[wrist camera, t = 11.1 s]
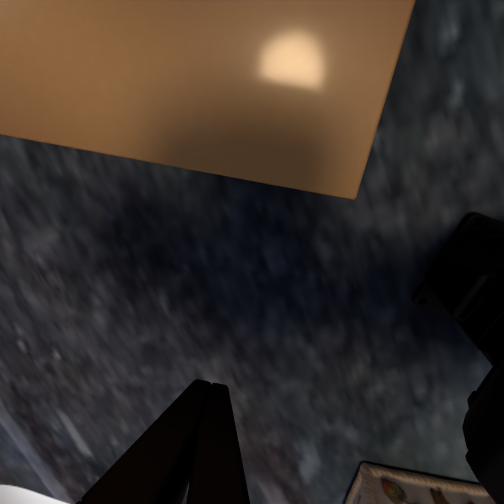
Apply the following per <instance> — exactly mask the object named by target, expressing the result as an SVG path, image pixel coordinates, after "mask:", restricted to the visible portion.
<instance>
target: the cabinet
mask: <svg viewBox="0 0 504 504" xmlns="http://www.w3.org/2000/svg"><path fill="white" fill-rule="evenodd" d="M415 1H416V0H0V135H5V136H10V137H16V138H21V139H27V140H32V141H37V142H43V143H48V144H54V145H59V146H65V147H70V148H75V149H81V150H86V151H92V152H97V153H103V154H108V155H113V156H119V157H124V158H130V159H135V160H140V161H146V162H151V163H157V164H162V165H168V166H173V167H178V168H184V169H189V170H195V171H200V172H206V173H211V174H216V175H222V176H227V177H233V178H238V179H244V180H249V181H254V182H260V183H265V184H271V185H276V186H282V187H287V188H292V189H298V190H303V191H309V192H314V193H320V194H325V195H330V196H336V197H341V198H347V199H352V200H353V199H355V198H356V196H357V193H358V190H359V186H360V183H361V180H362V177H363V173H364V170H365V167H366V163H367V160H368V157H369V153H370V150H371V147H372V143H373V140H374V137H375V134H376V130H377V127H378V124H379V120H380V117H381V114H382V110H383V107H384V104H385V100H386V97H387V94H388V91H389V87H390V84H391V81H392V77H393V74H394V71H395V67H396V64H397V61H398V57H399V54H400V51H401V48H402V44H403V41H404V38H405V34H406V31H407V28H408V24H409V21H410V18H411V14H412V11H413V8H414V5H415Z"/></svg>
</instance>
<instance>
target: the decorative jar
mask: <svg viewBox="0 0 504 504" xmlns="http://www.w3.org/2000/svg"><path fill="white" fill-rule="evenodd" d="M345 504H496V503H495V502H494V501H493V500H492V498H491V497H490V496H489V494H488V493H487V492H486V490H485V489H484V488H483V487H482V486H481V485H475V484H470V483H465V482H460V481H453V480H446V479H441V478H437V477H433V476H428V475H423V474H418V473H413V472H408V471H403V470H396V469H390V468H385V467H382V466H378V465H371V464H368V463H362V464H361V466H360V469H359V472H358V474H357V477H356V479H355V481H354V483H353V485H352V488H351V490H350V492H349V495H348V497H347V500H346V502H345Z"/></svg>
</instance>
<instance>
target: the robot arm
mask: <svg viewBox="0 0 504 504" xmlns="http://www.w3.org/2000/svg"><path fill="white" fill-rule="evenodd" d="M475 219H478V222H477V223H476V224H475V225H472V222H473V221H474V220H475ZM420 298H424V300H422V301H419V299H420ZM412 301H413V302H414V304H415V305H416V306H417V307H419V308H421V309H424V310H427V311H430V312H432V313H435V314H438V315H441V316H443V317H446V318H449V319H452V320H454V321H457V323H458V324H459V325H460V326H461V328H462V329H463V330H464V332H465V333H466V334H467V335H468V337H469V338H470V339H471V341H472V342H473V343H474V344H475V346H476V347H477V348H478V349H479V350H480V351H481V352H482V353H483V354H484V356H485V357H486V358H487V360H488V361H489V362H490V363H491V365H492V366H493V367H492V368H491V370H490V371H489V373H488V374H487V376H486V377H485V379H484V380H483V382H482V383H481V385H480V386H479V388H478V389H477V391H473V392H472V393H471V395H470V396H469V398H468V406H469V410H468V412H467V413H466V415H465V419H464V423H463V427H462V428H463V433H464V437H465V441H466V446H467V449H468V452H467V453H466V456H465V457H466V460H467V462H468V464H469V466H470V467H471V469H472V471H473V473H474V474H475V476H476V478H477V479H478V481H479V483H480V484H481V485H482V487H483V488H484V489H485V490H486V492H487V493H488V494H489V496H490V497H491V498H492V500H493V501H494V502H495V503H496V504H504V223H503V222H501V221H498V220H496V219H493V218H490V217H488V216H485V215H482V214H480V213H471V214H469V215H467V216H466V217H465V219H464V220H463V222H462V223H461V225H460V226H459V228H458V229H457V231H456V232H455V234H454V235H453V237H452V238H451V239H450V241H449V242H448V243H446V244H445V245H444V247H443V248H442V250H441V251H440V253H439V254H438V256H437V257H436V259H435V260H434V262H433V263H432V265H431V266H430V268H429V269H428V271H427V272H426V274H425V275H424V280H423V281H422V283H421V284H420V286H419V287H418V289H417V290H416V291H415V293H414V294H413V296H412ZM189 481H190V482H189ZM188 484H189V489H188V496H187V503H186V504H250V500H249V495H248V489H247V484H246V479H245V474H244V468H243V463H242V458H241V453H240V447H239V442H238V437H237V431H236V426H235V421H234V416H233V410H232V405H231V400H230V395H229V389H228V387H227V385H223V384H218V383H212V384H211V383H210V382H209V381H204V380H199V379H196V380H194V381H193V382H192V383H191V384H190V385H189V386H188V387H187V388H186V389H185V390H184V391H183V393H182V394H181V395H180V396H179V397H178V398H177V399H176V400H175V401H174V402H173V403H172V404H171V405H170V406H169V407H168V408H167V409H166V410H165V411H164V412H163V413H162V414H161V415H160V417H159V418H158V419H157V420H156V421H155V422H154V423H153V424H152V425H151V426H150V427H149V428H148V429H147V430H146V431H145V432H144V433H143V434H142V435H141V436H140V437H139V438H138V439H137V441H136V442H135V443H134V444H133V445H132V446H131V447H130V448H129V449H128V450H127V451H126V452H125V453H124V454H123V455H122V456H121V457H120V458H119V459H118V460H117V461H116V462H115V463H114V465H113V466H112V467H111V468H110V469H109V470H108V471H107V472H106V473H105V474H104V475H103V476H102V477H101V478H100V479H99V480H98V481H97V482H96V483H95V484H94V485H93V486H92V487H91V489H90V490H89V491H88V492H87V493H86V494H85V495H84V496H83V497H82V503H81V501H78V502H77V503H76V504H182V501H183V498H184V496H185V493H186V490H187V487H188Z"/></svg>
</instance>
